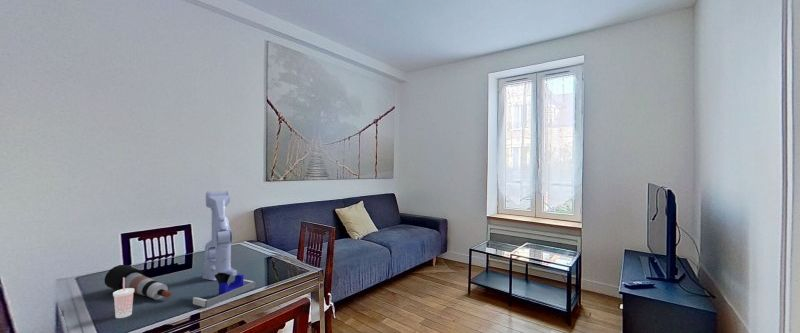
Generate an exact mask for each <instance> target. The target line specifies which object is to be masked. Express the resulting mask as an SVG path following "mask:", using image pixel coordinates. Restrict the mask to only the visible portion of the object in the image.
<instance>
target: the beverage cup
mask: <svg viewBox="0 0 800 333" xmlns="http://www.w3.org/2000/svg"><path fill="white" fill-rule="evenodd" d="M133 292H134V288H125V277H124V278H123V289H121V290H115V291H113V292H112V297H113V301H114V313H115V318H116V319H123V318H128V317H130V316H132V313H133V305H134V304H133V303H134V293H133Z"/></svg>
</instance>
